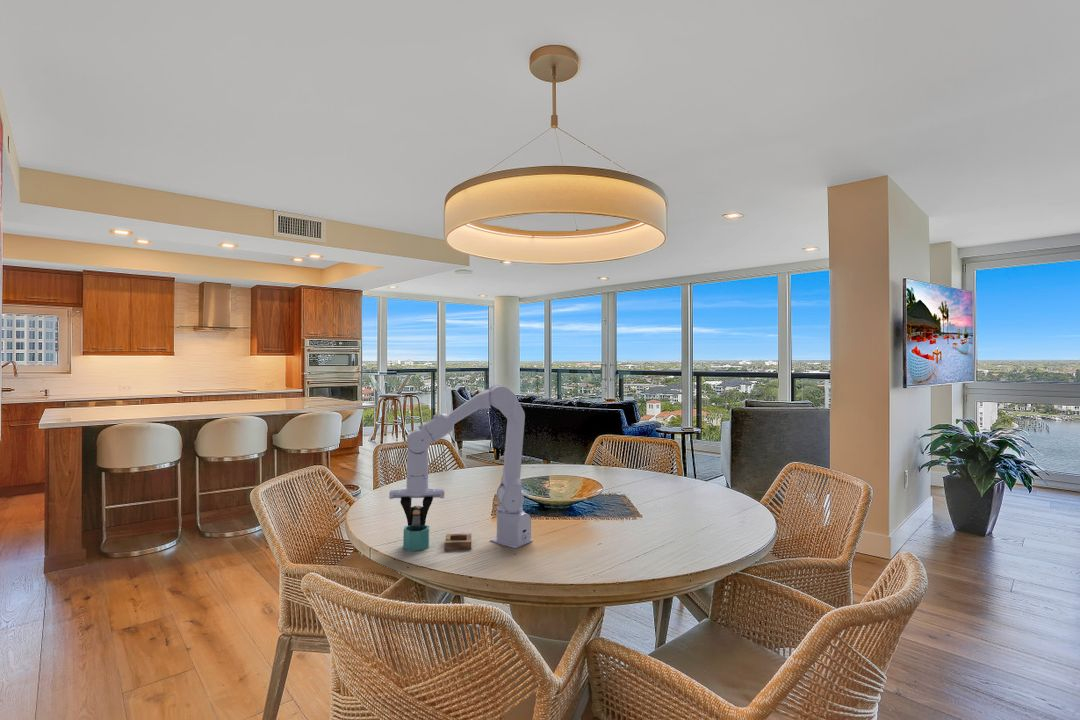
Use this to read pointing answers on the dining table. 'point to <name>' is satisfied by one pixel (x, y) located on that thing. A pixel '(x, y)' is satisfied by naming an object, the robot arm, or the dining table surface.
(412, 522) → the cell
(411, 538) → the cup
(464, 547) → the block
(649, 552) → the dining table surface
